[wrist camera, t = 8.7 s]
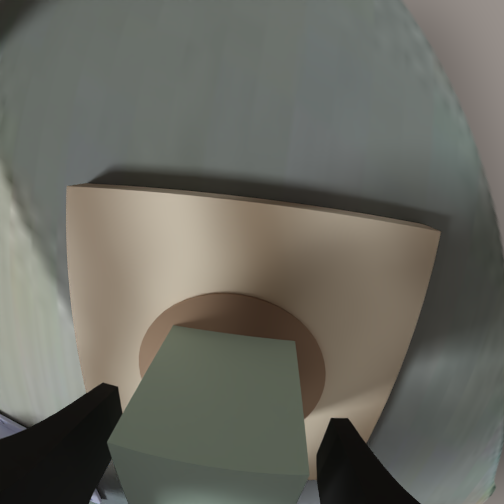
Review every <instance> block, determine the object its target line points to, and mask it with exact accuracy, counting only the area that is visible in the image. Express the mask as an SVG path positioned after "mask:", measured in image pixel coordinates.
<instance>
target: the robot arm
mask: <svg viewBox="0 0 504 504" xmlns="http://www.w3.org/2000/svg"><path fill="white" fill-rule="evenodd" d="M122 414H123V413H122V407H121V401H120V395H119V389H118V386H114V385H110V384H107V383H101V384H100V385H98V386H96V387H95V388H93V389H92V390H91V391H89V392H88V393H86V394H85V395H83V396H82V397H80V398H79V399H77V400H76V401H74V402H73V403H71V404H70V405H68V406H66V407H65V408H63V409H62V410H60V411H59V412H57V413H55V414H54V415H52V416H50V417H48V418H47V419H45V420H43V421H41V422H39V423H38V424H36V425H34V426H32V427H29V428H25V427H23V426H21V425H19V424H17V423H16V422H14V421H12V420H10V419H8V418H7V417H5V416H3V415H1V414H0V504H89V502H90V501H92V502H95V503H98V504H100V503H101V502H102V500H101V498H100V496H99V494H98V491H97V489H96V487H97V485H98V483H99V481H100V479H101V478H102V476H103V474H104V472H105V470H106V468H107V466H108V464H109V463H110V461H111V459H112V457H111V454H110V451H109V447H108V444H107V441H108V439H109V437H110V436H111V434H112V432H113V430H114V428H115V427H116V425H117V423H118V421H119V419H120V417H121V416H122ZM316 468H317V484H318V491H319V497H320V504H420V503H419V502H418V501H417V500H416V499H415V498H413V497H412V496H411V495H410V494H409V493H408V492H407V491H406V490H405V489H404V488H403V487H402V486H401V485H400V484H399V483H398V482H397V481H396V480H395V479H394V478H393V477H392V476H391V474H390V473H389V472H388V471H387V470H386V469H385V467H384V466H383V465H382V464H381V462H380V461H379V460H378V459H377V457H376V456H375V455H374V454H373V452H372V451H371V450H370V448H369V447H368V445H367V444H366V443H365V441H364V440H363V438H362V437H361V436H360V434H359V433H358V431H357V430H356V428H355V427H354V425H353V424H352V423H351V421H350V420H349V419H348V418H331V419H330V421H329V424H328V427H327V429H326V432H325V434H324V437H323V439H322V442H321V444H320V447H319V449H318V452H317V454H316Z"/></svg>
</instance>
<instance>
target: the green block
mask: <svg viewBox="0 0 504 504" xmlns="http://www.w3.org/2000/svg"><path fill="white" fill-rule="evenodd" d="M107 444H108V447H109V451H110V454H111V457H112V460H113V463H114V466H115V469H116V472H117V475H118V478H119V480H120V483H121V486H122V489H123V491H124V494H125V496H126V499H127V501H128V504H296V503H297V501H298V499H299V497H300V495H301V493H302V491H303V488H304V486H305V484H306V482H307V480H308V477H309V464H308V453H307V443H306V433H305V423H304V414H303V405H302V396H301V387H300V378H299V370H298V361H297V353H296V345H295V341H289V340H279V339H270V338H261V337H252V336H244V335H236V334H228V333H221V332H214V331H207V330H200V329H194V328H187V327H181V326H175V325H173V326H172V328H171V330H170V332H169V333H168V335H167V337H166V338H165V340H164V342H163V344H162V345H161V347H160V349H159V350H158V352H157V354H156V356H155V357H154V359H153V361H152V363H151V364H150V366H149V368H148V370H147V371H146V373H145V375H144V377H143V378H142V380H141V382H140V384H139V385H138V387H137V389H136V391H135V392H134V394H133V396H132V398H131V400H130V401H129V403H128V405H127V407H126V408H125V410H124V412H123V414H122V416H121V417H120V419H119V421H118V423H117V425H116V427H115V428H114V430H113V432H112V434H111V436H110V437H109V439H108V441H107Z"/></svg>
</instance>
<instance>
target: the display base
mask: <svg viewBox="0 0 504 504" xmlns="http://www.w3.org/2000/svg"><path fill="white" fill-rule="evenodd" d="M440 234H441V232H440V231H438V230H436V229H434V228H431V227H429V226H427V225H424V224H420V223H415V222H409V221H404V220H398V219H393V218H387V217H381V216H375V215H370V214H364V213H358V212H351V211H345V210H339V209H332V208H325V207H319V206H312V205H305V204H298V203H290V202H283V201H275V200H267V199H259V198H251V197H243V196H234V195H225V194H216V193H206V192H196V191H185V190H174V189H163V188H151V187H137V186H123V185H108V184H90V183H85V184H78V185H72V186H67V195H66V236H67V260H68V276H69V288H70V298H71V307H72V315H73V323H74V330H75V337H76V343H77V349H78V355H79V360H80V365H81V370H82V375H83V380H84V385H85V389H86V393H88V392H89V391H91V390H92V389H93V388H95V387H96V386H98V385H100V384H101V383H107V384H110V385H114V386H118V389H119V395H120V401H121V407H122V413H123V412H124V410H125V408H126V407H127V405H128V403H129V401H130V400H131V398H132V396H133V394H134V392H135V391H136V389H137V387H138V385H139V384H140V382H141V380H142V378H143V377H144V375H145V373H146V371H147V370H148V368H149V366H150V364H151V363H152V361H153V359H154V357H155V356H156V354H157V352H158V350H159V349H160V347H161V345H162V344H163V342H164V340H165V338H166V337H167V335H168V333H169V332H170V330H171V328H172V326H173V325H175V326H181V327H187V328H194V329H200V330H207V331H214V332H221V333H228V334H236V335H244V336H252V337H261V338H270V339H279V340H289V341H295V345H296V353H297V361H298V370H299V378H300V387H301V396H302V405H303V414H304V423H305V433H306V443H307V453H308V464H309V477H308V480H317V468H316V454H317V452H318V449H319V447H320V444H321V442H322V439H323V437H324V434H325V432H326V429H327V427H328V424H329V421H330V419H331V418H348V419H349V420H350V421H351V423H352V424H353V425H354V427H355V428H356V430H357V431H358V433H359V434H360V436H361V437H362V438H363V440H364V441H365V443H367V441H368V439H369V437H370V435H371V433H372V431H373V429H374V427H375V425H376V423H377V421H378V419H379V417H380V415H381V413H382V410H383V408H384V406H385V404H386V402H387V399H388V397H389V395H390V392H391V390H392V388H393V385H394V383H395V381H396V378H397V376H398V373H399V371H400V368H401V366H402V363H403V361H404V358H405V355H406V353H407V350H408V347H409V344H410V342H411V339H412V336H413V333H414V330H415V327H416V324H417V321H418V318H419V315H420V311H421V308H422V305H423V302H424V298H425V295H426V291H427V288H428V284H429V280H430V277H431V273H432V269H433V265H434V261H435V257H436V252H437V248H438V243H439V239H440Z"/></svg>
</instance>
